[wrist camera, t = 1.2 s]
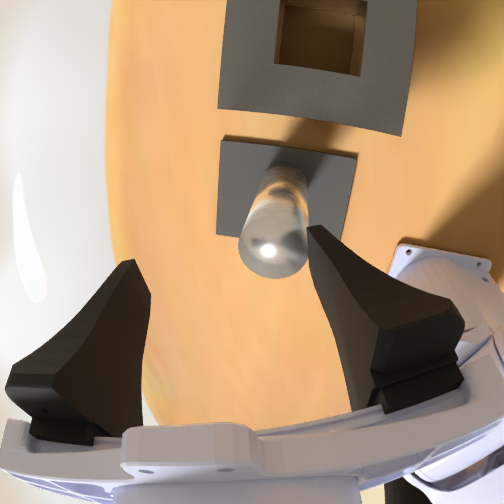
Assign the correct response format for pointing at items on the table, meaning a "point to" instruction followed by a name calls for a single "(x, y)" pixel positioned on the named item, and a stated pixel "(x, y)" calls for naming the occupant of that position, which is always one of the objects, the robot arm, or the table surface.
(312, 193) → the rubber mat
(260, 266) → the steel pin
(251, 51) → the hole block
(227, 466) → the robot arm
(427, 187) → the table surface
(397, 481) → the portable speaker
